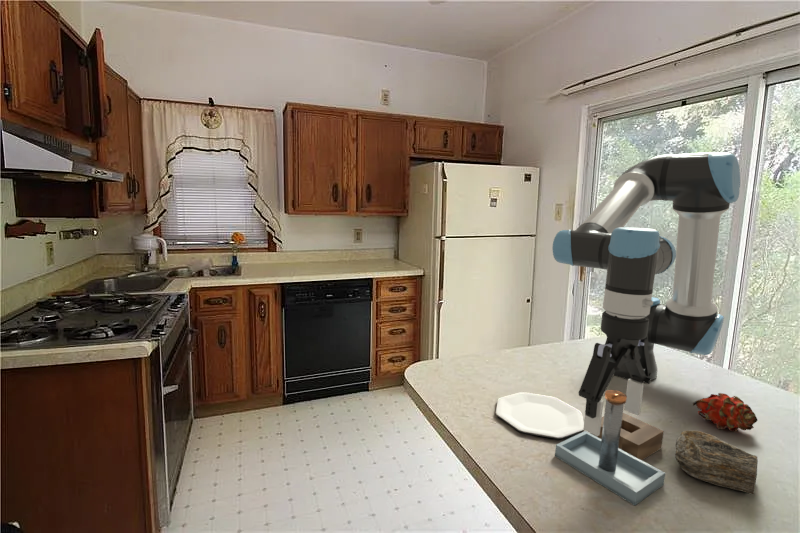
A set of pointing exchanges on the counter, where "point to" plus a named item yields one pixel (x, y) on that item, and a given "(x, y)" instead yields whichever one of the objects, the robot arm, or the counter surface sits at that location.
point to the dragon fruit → (726, 412)
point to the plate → (540, 415)
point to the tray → (627, 479)
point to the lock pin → (611, 429)
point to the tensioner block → (637, 437)
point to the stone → (716, 461)
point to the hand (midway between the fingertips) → (612, 421)
